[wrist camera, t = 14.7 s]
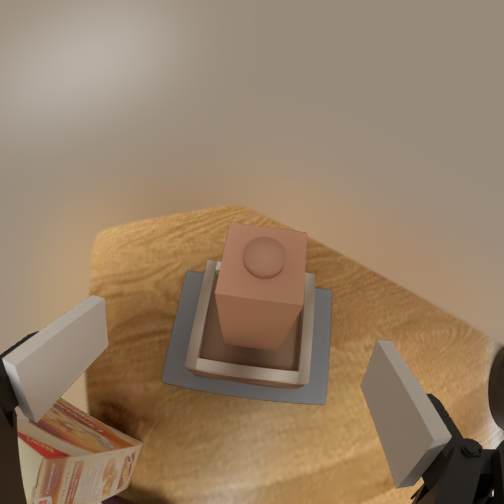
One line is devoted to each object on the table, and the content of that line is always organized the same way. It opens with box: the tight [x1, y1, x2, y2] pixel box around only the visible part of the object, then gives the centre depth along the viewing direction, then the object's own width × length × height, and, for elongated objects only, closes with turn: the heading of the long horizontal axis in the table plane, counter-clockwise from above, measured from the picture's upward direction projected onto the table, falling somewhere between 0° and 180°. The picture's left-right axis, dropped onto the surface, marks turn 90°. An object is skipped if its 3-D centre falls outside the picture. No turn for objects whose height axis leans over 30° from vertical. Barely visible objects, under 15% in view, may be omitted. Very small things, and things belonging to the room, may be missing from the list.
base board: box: [161, 270, 332, 405], centre depth 33 cm, size 18×14×2 cm
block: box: [215, 222, 307, 351], centre depth 22 cm, size 5×5×13 cm
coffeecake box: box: [15, 398, 143, 504], centre depth 17 cm, size 15×7×20 cm, turn 74°
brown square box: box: [185, 260, 316, 389], centre depth 29 cm, size 11×11×6 cm
